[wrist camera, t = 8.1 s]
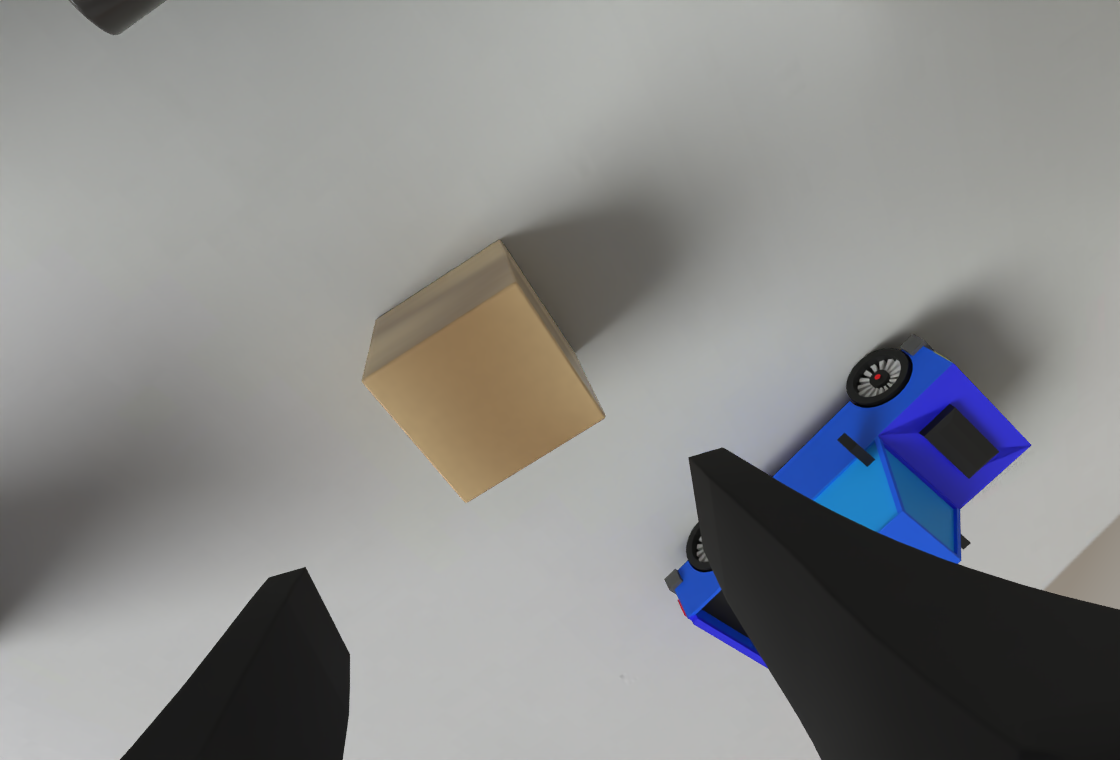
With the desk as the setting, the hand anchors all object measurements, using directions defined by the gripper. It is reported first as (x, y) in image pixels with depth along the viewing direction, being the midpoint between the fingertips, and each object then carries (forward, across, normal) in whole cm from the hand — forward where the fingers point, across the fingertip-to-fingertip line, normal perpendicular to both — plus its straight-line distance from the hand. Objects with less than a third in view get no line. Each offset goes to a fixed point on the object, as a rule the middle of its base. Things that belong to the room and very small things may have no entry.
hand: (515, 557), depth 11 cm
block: (+10, 0, 0) cm, 10 cm away
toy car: (+11, -10, +9) cm, 17 cm away
